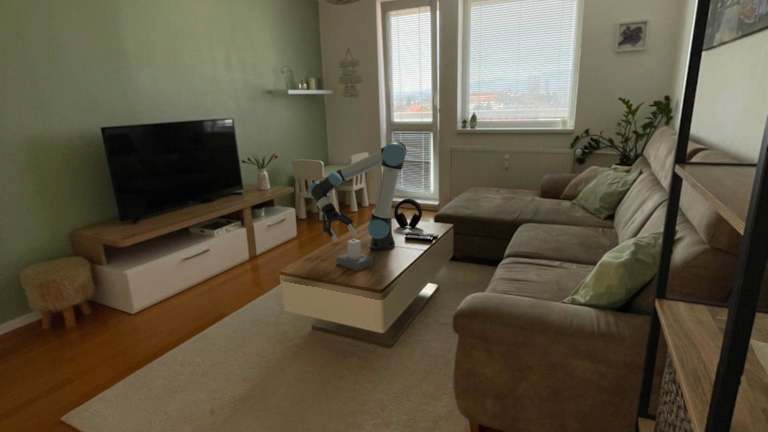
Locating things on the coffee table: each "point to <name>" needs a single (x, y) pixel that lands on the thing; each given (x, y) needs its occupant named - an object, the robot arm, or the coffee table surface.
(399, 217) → the headphones
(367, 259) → the block
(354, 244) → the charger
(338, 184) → the robot arm
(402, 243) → the coffee table surface
